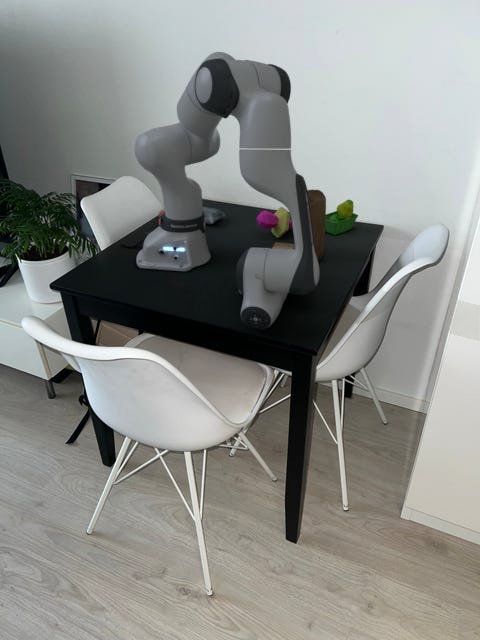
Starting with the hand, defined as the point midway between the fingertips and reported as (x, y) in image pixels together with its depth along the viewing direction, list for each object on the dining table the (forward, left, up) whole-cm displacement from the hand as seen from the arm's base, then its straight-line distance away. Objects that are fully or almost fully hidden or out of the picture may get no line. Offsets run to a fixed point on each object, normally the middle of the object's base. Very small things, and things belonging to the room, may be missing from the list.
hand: (283, 262), depth 138 cm
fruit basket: (+22, +37, -6) cm, 43 cm away
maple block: (0, -1, -6) cm, 6 cm away
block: (+9, +17, -6) cm, 20 cm away
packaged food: (-24, +46, -6) cm, 52 cm away
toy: (+2, +34, -6) cm, 34 cm away
